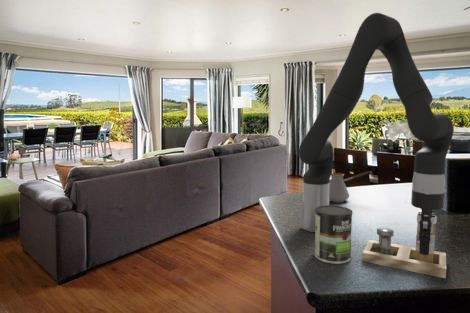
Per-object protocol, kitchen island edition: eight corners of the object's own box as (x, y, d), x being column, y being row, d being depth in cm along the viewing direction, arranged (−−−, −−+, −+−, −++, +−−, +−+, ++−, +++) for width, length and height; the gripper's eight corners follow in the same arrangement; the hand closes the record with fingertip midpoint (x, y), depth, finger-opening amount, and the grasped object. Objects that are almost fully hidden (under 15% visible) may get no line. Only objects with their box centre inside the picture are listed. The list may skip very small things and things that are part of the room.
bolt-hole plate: (362, 260, 93) (362, 252, 93) (369, 247, 102) (369, 239, 102) (445, 278, 83) (446, 269, 82) (445, 261, 92) (445, 253, 92)
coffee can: (358, 259, 94) (360, 212, 92) (330, 267, 90) (331, 217, 88) (334, 247, 103) (335, 203, 102) (307, 252, 99) (307, 207, 97)
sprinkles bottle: (410, 259, 92) (413, 212, 90) (426, 258, 92) (429, 211, 91) (421, 266, 87) (424, 217, 86) (437, 265, 88) (440, 216, 86)
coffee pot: (323, 202, 155) (323, 171, 153) (325, 196, 165) (325, 167, 164) (372, 206, 148) (373, 173, 146) (370, 199, 158) (371, 169, 157)
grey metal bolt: (374, 258, 95) (375, 231, 94) (377, 253, 98) (378, 226, 97) (391, 262, 92) (392, 233, 91) (393, 256, 96) (394, 229, 95)
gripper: (413, 183, 95) (410, 239, 98) (409, 193, 83) (406, 257, 86) (444, 185, 91) (440, 244, 94) (445, 197, 79) (440, 264, 82)
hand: (424, 250), depth 90 cm, fingers closed on sprinkles bottle, 4 cm apart
